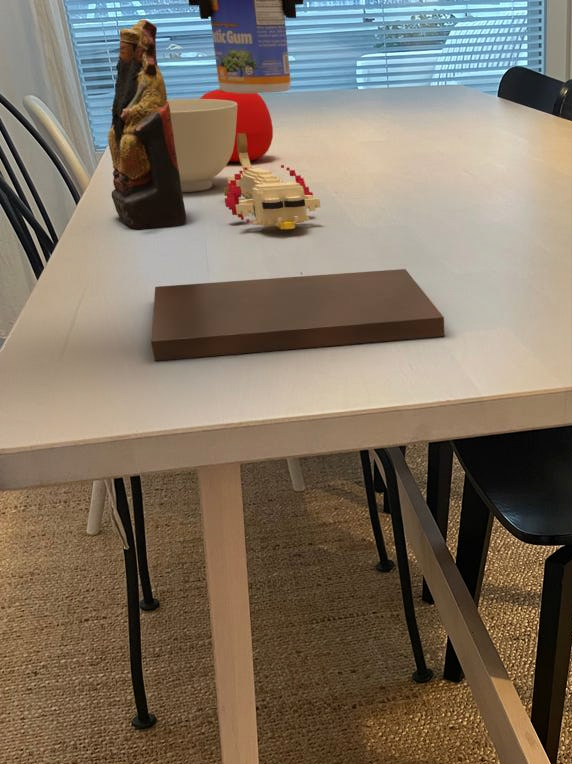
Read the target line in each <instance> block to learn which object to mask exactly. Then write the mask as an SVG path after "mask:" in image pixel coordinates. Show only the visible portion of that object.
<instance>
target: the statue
mask: <svg viewBox="0 0 572 764" xmlns="http://www.w3.org/2000/svg"><path fill="white" fill-rule="evenodd" d="M157 32H158V28H157V25H155V24H154V23H152V22H150V21H149V20H146V19H139V20H138V21H137V23H134V24H133V26H131V27H130V29H129V28H123V27H122V28H121V29H120V30H119V37H120V40H119V53H118V61H117V63H116V66H115V67H116V71H117V73H116V74H117V77H116V80H115V85H114V87H115V88H114V96H113V101H112V106H111V107H112V111H111V116H112V117H111V124H110V129H109V131H108V133H107V144H108V147H109V148H108V149H109V152H110V156H111V161H112V169H113V171H112V176H113V180H112V182H113V187H114V189H113V190H112V191H111V199H112V201H113V205H114V207H115V208H114V209H115V211H116V213H117V215H118V217H119V218H120V220H121V221H122V222H124V224H125V225H127V226H129V227H130V228H132V229H135V230H146V229H158V228H167V227H176V226H181V225H185V223H186V222H187V212H186V207H185V202H184V197H183V192H182V190H181V182H180V174H179V168H178V162H177V155H176V150H175V143H174V135H173V129H172V123H171V114H170V107H169V103H168V101H167V100H168V97H167V96H168V95H167V88H166V84H165V80H164V79H165V78H164V77H163V76H164V75H163V74H162V71H161V70H160V67H159V65H158V60H157V42H156V37H157Z"/></svg>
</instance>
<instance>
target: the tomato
mask: <svg viewBox="0 0 572 764" xmlns="http://www.w3.org/2000/svg"><path fill="white" fill-rule="evenodd" d="M199 99H217V100H228V101H233V102H236V103H237V120H236V134H235V143H234V149H233V152H232V155H231V158H230V160H229V162H230V163H241V161H240V158H239V155H238V149H237V147H238V146H237V134H246V138H247V154H248V158H249V161H250V162H251V161H256V160H258V159H260V158H262V157H264V156H265V155H266V154H267V153H268V152H269V149H270V147H271V145H272V141H273V137H274V127H273V121H272V117H271V114H270V113H271V112H270V110H269V107H268V106H267V104H266V102H265V100H264V99H263V97H262V96H261V95H260V93H231V92H225V91H222V90H221V89H220V87H219V88H215V89H213V90H210V89H209V90H208V92H206V93H203V95H202V96H201V97H200V98H199ZM229 162H228V163H229Z"/></svg>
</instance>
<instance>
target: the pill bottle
mask: <svg viewBox="0 0 572 764" xmlns="http://www.w3.org/2000/svg"><path fill="white" fill-rule="evenodd" d="M209 2H210V10H211V17H209V19H210V24H211V33H212V41H213V42H212V43H213V48H214V49H213V50H214V58H215V65H216V66H215V67H216V74H217V80H218V87H219V88H220V89H221V90H222V91H225V92H231V93H257V94H269V93H281V92H287V91H289V90H290V88H291V85H292V84H291V70H290V59H289V51H288V49H289V48H288V39H287V27H286V17H285V14H284V3H283V0H209Z"/></svg>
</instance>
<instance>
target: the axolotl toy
mask: <svg viewBox="0 0 572 764" xmlns="http://www.w3.org/2000/svg"><path fill="white" fill-rule="evenodd" d="M237 146H238V147H237V149H238V155H239V158H240V161H241V162H240V164H241V167H242V170H239V173H234V174H233V175H234V176H227V177H226V181H227V187H223V192H224V196H225V198H224V204H225V207H226V208H228V210H229V211H231V215H232V216H237V218H240V221H245V217H250V214H254V213H255V220H250V218H246V223H250V224H251V225H253V226H264V227H267V228H269V227H270V228H271V227H278V229H280V230H293V229H296V225H297V224H303V223H305V222H307V221H310V217H309V216H308V213H307V210H308V211H309V212H316V209H318V208H321V199H320V198H319V197H318V198H316V197H315V198H314V193H313V192H311V191H310V186H307V185H306V182H305V179H304V177H302V176H301V175H300V174H297V173H296V170H295V169H291V168H290V167H286V171H289V176H290V177H294V180H295V181H289V182H288V181H287V182H284V181H282V180H281V178H278V176H277V175H275V174H274V173H272V171H271V170H267V169H264V168H260V167H255V168H252V164H251V161H249V158H248V154H247V138H246V134H237ZM280 168H281V169H284V168H285V165H284V164H280ZM242 197H243V198H244V199H240V198H242Z"/></svg>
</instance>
